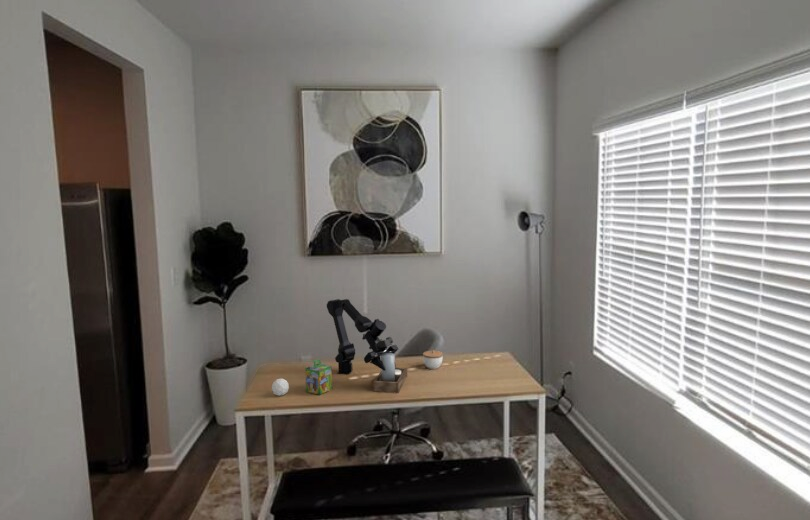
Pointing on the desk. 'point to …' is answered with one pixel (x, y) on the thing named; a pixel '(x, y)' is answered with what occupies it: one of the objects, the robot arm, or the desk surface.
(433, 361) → the lidded jar
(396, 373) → the bowl
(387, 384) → the brown wooden tray
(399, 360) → the desk surface
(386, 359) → the pale blue cylinder
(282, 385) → the geometric ball
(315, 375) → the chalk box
